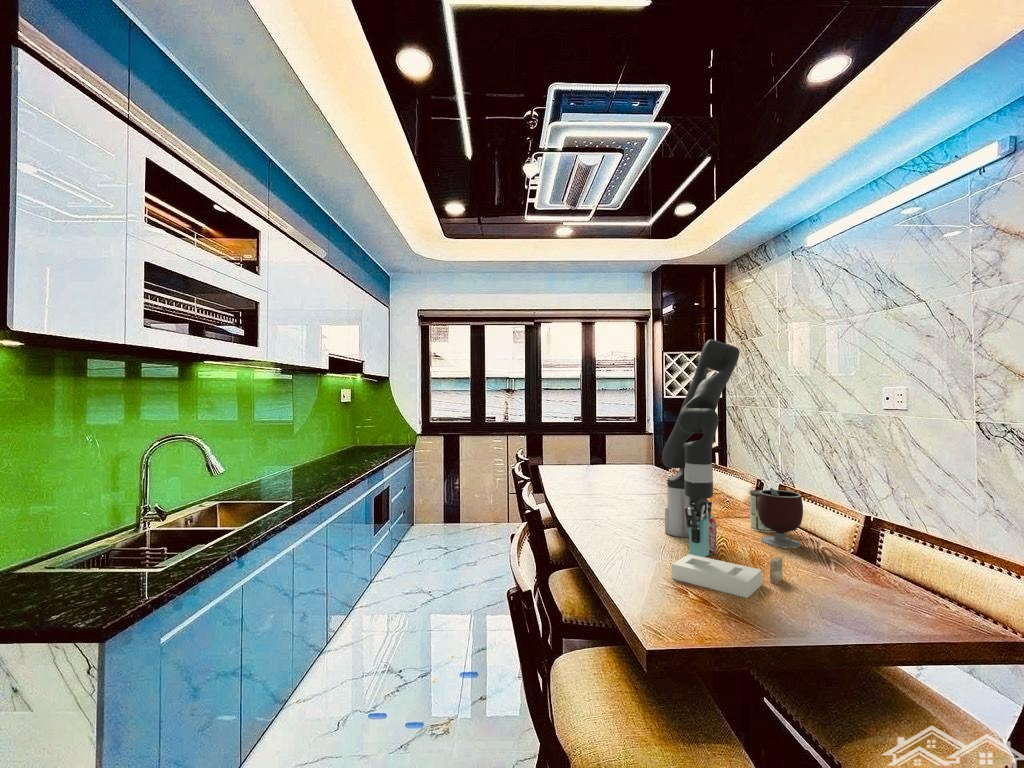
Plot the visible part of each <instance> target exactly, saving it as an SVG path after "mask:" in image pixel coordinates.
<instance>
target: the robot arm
mask: <svg viewBox="0 0 1024 768" xmlns="http://www.w3.org/2000/svg"><path fill="white" fill-rule="evenodd" d="M739 349H740V348H738V347H737V346H734V345H731V344H728V343H726V342H725V343H724V342H722V341H719V340H715V339H708V340H707V341H706V342H705V344H704V346H703V348H702V350H701V353H700V356H699V359H698V362H697V366H696V368H695V371H694V375H693V378H692V381H691V383H690V386H689V388H688V391H687V394H686V396H685V398H684V400H683V403H682V406H681V408H680V411H679V415H678V416H677V419H676V421H675V424H674V426H673V429H672V431H671V433H670V435H669V436H668V439H667V440H666V442H665V445H664V447H663V449H662V454H661V456H662V457H661V459H662V464H663V465H664V467H666V468H668V469H679V470H678V471H677V472H676V473H675V474H673V475H672V476H670V477H668V478H667V481H666V483H667V485H666V486H667V489H666V490H667V495H666V496H667V497H666V498H667V504H666V505H667V506H665V507H664V533H665V534H667V535H671V536H674V537H678V538H689V528H691V541H692V542H693V543H700V522H701V521H702V520H703V518H709V522H710V516H711V515H712V505H713V502H712V501H711V500H710V501H709V500H708V499H711V498H712V497H713V496H714V470H713V459H712V458H713V454H712V453H713V445H714V440H715V435H716V432H717V430H718V427H719V421H720V420H719V414H718V413H717V411H716V410H717V407H718V405H719V402H720V399H721V396H722V393H723V390H724V389H725V387H726V385H727V383H728V382H729V380H730V378H731V376H732V375H733V372H734V370H735V368H736V366H737V364H738V362H739V358H740V350H739ZM708 369H709V370H713V371H715V372H717V373H715V374H713V375H710V376H708V377H707V371H708ZM694 434H703V435H702V437H701V439H699V440H694V441H689V442H687V440H689V438H690V437H691V436H692V435H694ZM696 516H697V517H699V518H696ZM693 522H694V524H693Z"/></svg>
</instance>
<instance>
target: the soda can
mask: <svg viewBox="0 0 1024 768" xmlns="http://www.w3.org/2000/svg"><path fill="white" fill-rule="evenodd" d="M716 552H717V522H716V520H715V516H714V515H713V514H711V516H710V522H709V554H708V555H707V556H712V555H714V554H715V553H716Z"/></svg>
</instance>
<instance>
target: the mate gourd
mask: <svg viewBox="0 0 1024 768" xmlns="http://www.w3.org/2000/svg"><path fill="white" fill-rule="evenodd" d="M760 490H761V491H760V492H759V497H758V514H759V518H760V520H761V522H762V523H763V525H764V526H765V527H767V528H769V529H771V530H773V531H775V532H776V533H774V535H769V536H766V535H765V536H762V537H760V540H761V541H760V543H762V542H763V543H762V544H764V543H765V544H764V545H766V544H768V545H767V546H769V545H772V546H771V547H773V546H777V547H776V548H779V547H787V548H786V549H795V548H794V547H798V548H800V547H801V542H800V541H798V540H796V539H793V538H790V537H786V535H785V534H786V533H789V532H792V531H793V532H794V531H795V530H798V528H799V527H800V525H802V521H803V517H804V504H803V498H802V494H800V493H798V492H794V491H790V490H782V489H781V490H780V489H779V490H778V489H775V488H773V487H770V488H769V489H760ZM799 546H800V547H799Z"/></svg>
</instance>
